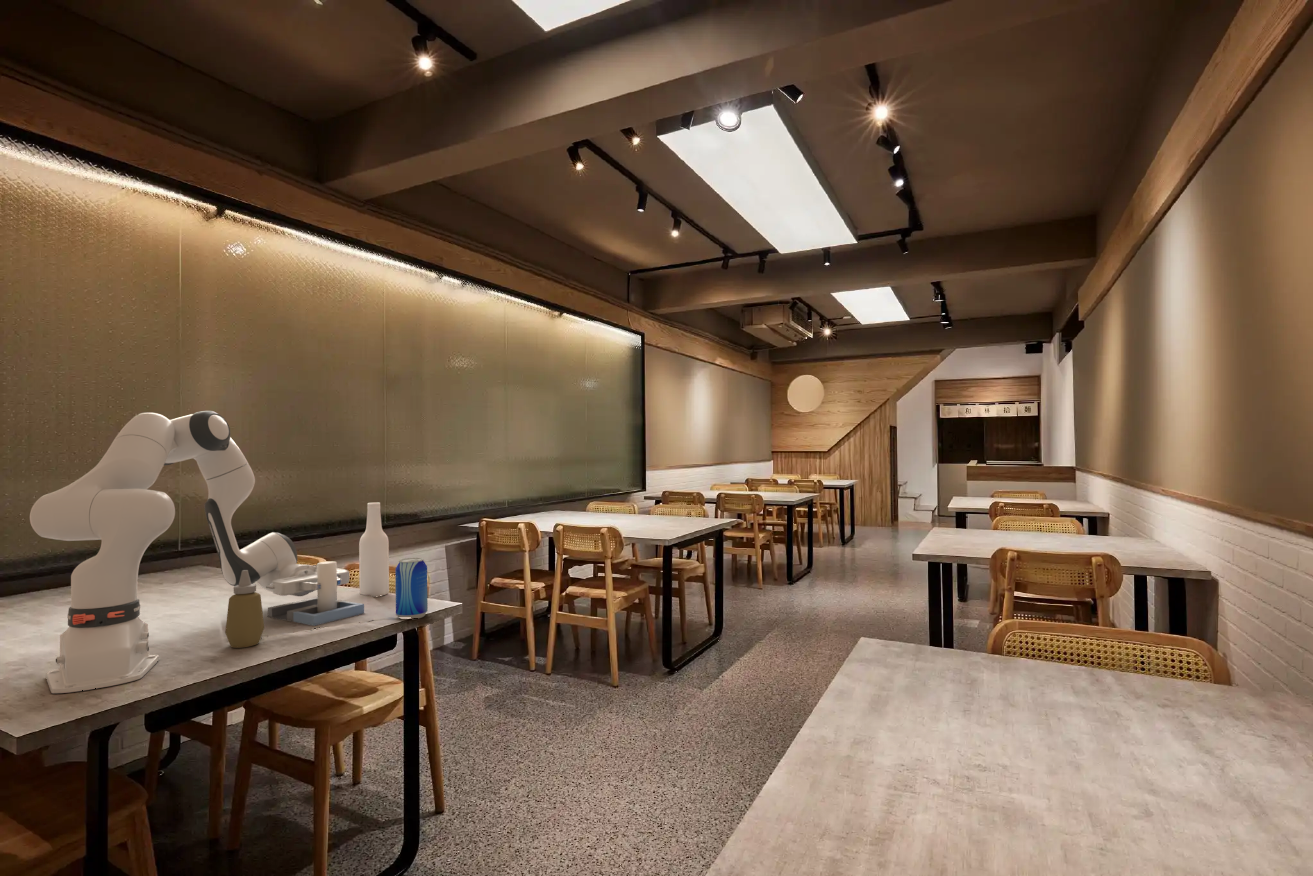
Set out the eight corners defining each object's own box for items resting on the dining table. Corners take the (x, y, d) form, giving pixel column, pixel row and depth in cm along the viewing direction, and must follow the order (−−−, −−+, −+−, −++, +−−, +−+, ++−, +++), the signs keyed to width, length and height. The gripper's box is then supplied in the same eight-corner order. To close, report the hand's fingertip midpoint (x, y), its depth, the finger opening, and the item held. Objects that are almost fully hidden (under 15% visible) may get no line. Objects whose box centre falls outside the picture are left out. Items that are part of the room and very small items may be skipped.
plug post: (338, 613, 182) (338, 563, 182) (319, 616, 179) (318, 564, 179) (335, 610, 186) (335, 560, 186) (316, 613, 183) (316, 562, 183)
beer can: (421, 620, 181) (420, 562, 181) (390, 620, 181) (390, 562, 181) (431, 612, 189) (431, 557, 190) (402, 613, 189) (402, 557, 190)
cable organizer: (365, 616, 186) (365, 604, 186) (314, 629, 173) (314, 616, 173) (317, 608, 197) (317, 596, 197) (266, 619, 184) (266, 607, 184)
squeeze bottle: (271, 643, 161) (270, 569, 161) (235, 652, 154) (235, 574, 154) (254, 638, 165) (253, 566, 165) (218, 646, 158) (218, 571, 159)
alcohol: (374, 598, 208) (373, 504, 209) (353, 597, 212) (352, 503, 212) (394, 593, 217) (394, 501, 217) (374, 591, 220) (373, 501, 220)
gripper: (262, 575, 180) (292, 579, 173) (331, 563, 198) (361, 567, 191) (262, 598, 180) (292, 603, 173) (331, 584, 197) (361, 589, 191)
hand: (329, 584), depth 182 cm, fingers open, 5 cm apart
